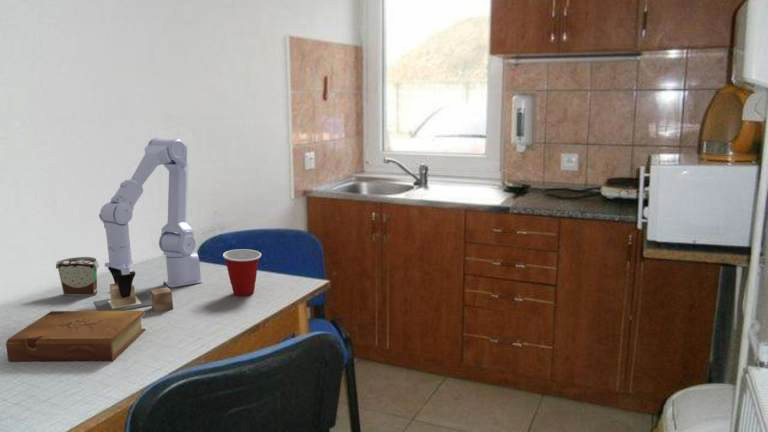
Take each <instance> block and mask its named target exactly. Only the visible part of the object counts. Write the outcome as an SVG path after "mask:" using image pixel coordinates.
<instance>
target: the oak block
mask: <svg viewBox="0 0 768 432" xmlns="http://www.w3.org/2000/svg"><path fill="white" fill-rule="evenodd" d="M109 290H110V299H111V302H112V303H113V305H114V307H118V306H123V305H129V304H135V303H136V298H135V294H136V291H135V290H136V289H135V285H134V284H133V283H132V286H131V294H130V297H125V298H122V297H121V294H120V291H119V287H118V284H117V283H115V282H114V283H109Z"/></svg>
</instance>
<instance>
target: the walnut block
mask: <svg viewBox="0 0 768 432" xmlns="http://www.w3.org/2000/svg"><path fill="white" fill-rule="evenodd" d="M150 298H151V299H152V309H153V311H154V312H155V313H160V312H166V311H170V310H174V303H173V292H172V290H171V288H170V287H169V286H167V287H162V288H154V289H150Z"/></svg>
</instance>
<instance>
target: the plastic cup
mask: <svg viewBox="0 0 768 432" xmlns="http://www.w3.org/2000/svg"><path fill="white" fill-rule="evenodd" d="M222 257H223V258H224V261H225V265H226V269H227V271H228V272H227V273H228V277H229V281H230V285H231V289H232V293H233V295H234V296H238V297H246V296H250V295H253V294H254V293H255V289H256V282H257V280H256V279H257V273H258V272H257V271H258V266H259V262H260V259H261V257H262V253H261V252H259V251H258V250H254V249H249V248H248V249H247V248H246V249H245V248H242V249H241V248H239V249H231V250H227V251H225V252H223V254H222Z"/></svg>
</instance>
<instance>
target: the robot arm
mask: <svg viewBox="0 0 768 432" xmlns="http://www.w3.org/2000/svg"><path fill="white" fill-rule="evenodd" d="M160 165H163V166H164V167H165V168H166V170H167V171H168V194H167V195H168V197H167V198H168V199H167V202H168V203H167V223H166V224H165V225H164V226H163V227H162V228H161V233H160V236H159V239H158V247H159V249H160V250H161V252H163V256H165V262H166V263H165V264H166V273H167V275H166V277H167V279H164V283H165V284H166V285H167V287H168V288H177V287H182V286H188V285H189V286H190V285H194V284H195V285H196V284H200V283H202V277H201V275H202V274H201V262H200V257H199V255H198V252H194V251H195V249H196V238H195V235H194V233H195V232H194V229H193V228H192V227H191V226H190V225H189V224H188V222H187V221H188V219H187V218H188V217H187V216H188V187H189V186H188V184H189V183H188V182H189V163H188V146H187V145H186V144H185V143H184V141H182V140H181V139H180V138H158V137H155V138H154V137H153V138H151V139H150V140H149V141H148V143H147V145H146V146H145V147H144V155H143V156H142V159H141V160H140V162H139V164H138V165H137V168H136V169H135V171H134V173H133V174H132V176H131V178H130V179H125V180H124V181H121V183H120V184H119V188H118V189H117V190H116V191H115V194H114V196H112V197H111V199H110V201H109V202H107V203H104V205H102V206H101V208H100V212H99V213H98V216H99V219H100V220H101V222H102V224H103V228H104V229H105V234H106V242H107V243H106V244H107V254H108V262H105V263H104V266H105V268H107V269H108V271H109V273H110V274H111V276H112V278H113V282H114V284H115V283H117V284H118V287H119V291H120V294H121V297H122V298H125V297H130V294H131V286H132V284H133V280H134V278H135V276H136V271H134V270H133V271H130V268H131V267H132V265H133V262H134V261H133V259H132V250H131V240H130V229H129V222H130V221H131V220H132V218H133V211H134V206H135V205H136V203H137V202H138V201H139V200H140V199H139V198H140V197H141V196H142V194H143V193H144V187H143V186H144V184H145V183H146V181H147V180H148V178H149V177H151V175H152V174H153V172H154V171H155V169H157V167H158V166H160Z"/></svg>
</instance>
